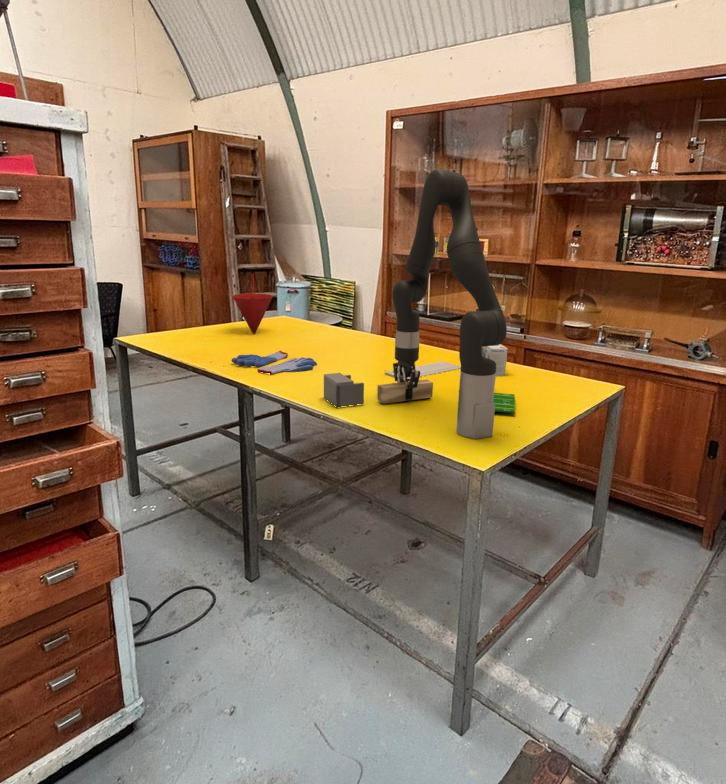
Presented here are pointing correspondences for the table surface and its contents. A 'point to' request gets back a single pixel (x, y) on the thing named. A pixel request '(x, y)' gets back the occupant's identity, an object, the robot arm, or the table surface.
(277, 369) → the pair of gloves
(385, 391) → the slat
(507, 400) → the electronic board model
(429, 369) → the baseboard molding
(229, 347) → the table surface
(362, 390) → the end cap
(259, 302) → the fire bucket
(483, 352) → the light bulb box
